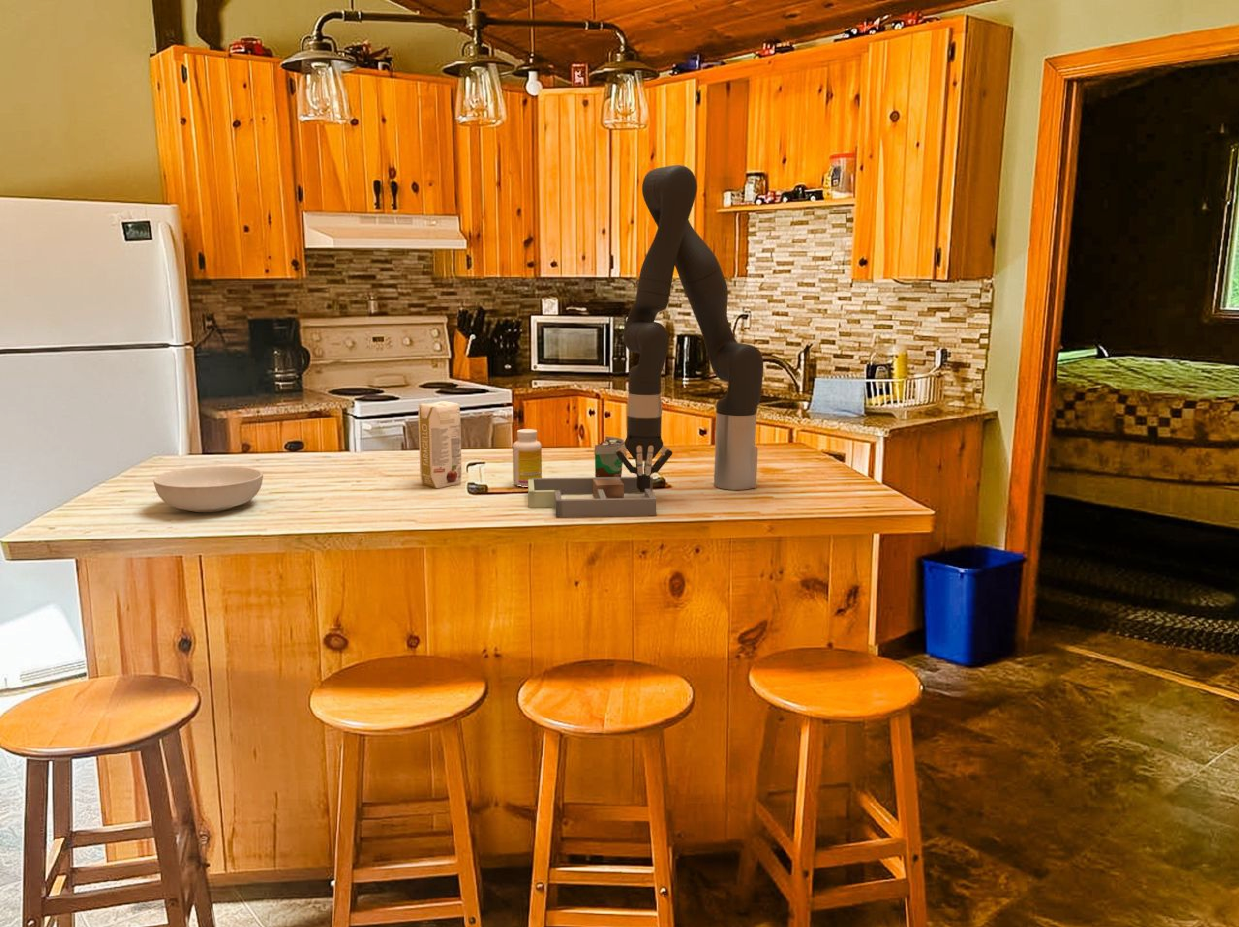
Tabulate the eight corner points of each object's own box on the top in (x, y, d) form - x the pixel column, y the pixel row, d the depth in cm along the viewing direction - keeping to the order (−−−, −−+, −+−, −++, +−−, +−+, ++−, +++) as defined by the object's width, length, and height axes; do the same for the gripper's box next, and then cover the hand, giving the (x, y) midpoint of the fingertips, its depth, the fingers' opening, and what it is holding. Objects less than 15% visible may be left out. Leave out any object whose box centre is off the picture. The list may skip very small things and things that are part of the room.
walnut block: (619, 495, 213) (619, 478, 212) (623, 502, 207) (624, 484, 206) (592, 496, 212) (592, 479, 211) (596, 503, 206) (596, 485, 205)
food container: (620, 489, 218) (620, 446, 216) (594, 488, 219) (594, 445, 217) (630, 478, 230) (631, 437, 228) (605, 476, 231) (605, 436, 229)
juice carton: (466, 483, 222) (464, 403, 218) (435, 489, 215) (433, 407, 211) (446, 478, 227) (444, 399, 223) (416, 484, 220) (413, 403, 216)
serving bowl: (261, 516, 192) (259, 483, 190) (147, 523, 186) (144, 489, 185) (268, 493, 211) (266, 462, 210) (165, 498, 205) (162, 467, 204)
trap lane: (651, 491, 216) (652, 476, 215) (665, 515, 196) (666, 499, 195) (528, 493, 213) (528, 478, 212) (529, 517, 193) (529, 501, 192)
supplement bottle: (547, 485, 221) (547, 431, 218) (523, 489, 217) (523, 434, 214) (531, 480, 226) (531, 427, 223) (507, 484, 222) (507, 430, 219)
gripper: (671, 411, 211) (669, 487, 214) (612, 411, 209) (611, 487, 213) (677, 416, 203) (675, 495, 207) (616, 416, 202) (615, 495, 206)
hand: (643, 491), depth 210 cm, fingers closed
